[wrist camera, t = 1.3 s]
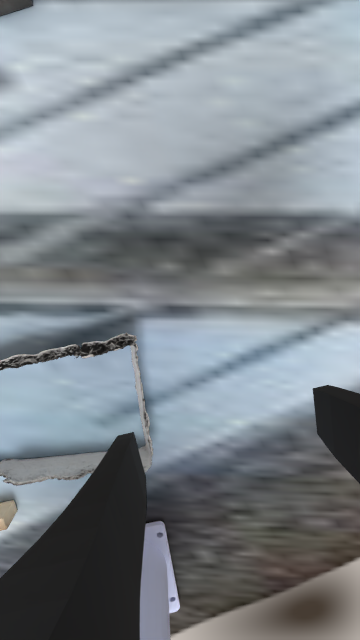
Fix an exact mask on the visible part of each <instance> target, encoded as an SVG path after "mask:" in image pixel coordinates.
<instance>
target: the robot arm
mask: <svg viewBox="0 0 360 640" xmlns="http://www.w3.org/2000/svg"><path fill="white" fill-rule="evenodd" d="M313 395H314V405H315V415H316V425H317V434H318V435H319V437H320V438H321V439H322V441H323V442H324V443H325V445H326V446H327V448H328V449H329V450H330V451H331V453H332V454H333V455H334V457H335V458H336V459H337V460H338V461H339V462H340V463H341V464H342V465H343V466H344V467H345V469H346V470H347V471H348V472H349V473H350V474H351V475H352V476H353V477H354V478H355V479H356V480H357V481H358V482H359V483H360V394H359V393H355V392H352V391H349V390H345V389H342V388H338V387H334V386H329V385H326V386H322V387H318V388H313ZM146 510H147V494H146V475H145V472H144V468H143V465H142V461H141V457H140V454H139V450H138V446H137V443H136V439H135V435H134V432H132V433H128V434H123V435H119V436H117V438H116V439H115V441H114V442H113V444H112V445H111V447H110V448H109V450H108V451H107V453H106V454H105V456H104V457H103V459H102V460H101V462H100V463H99V465H98V466H97V468H96V469H95V470H94V472H93V473H92V475H91V476H90V478H89V479H88V480H87V482H86V483H85V484H84V486H83V487H82V488H81V490H80V491H79V492H78V494H77V495H76V496H75V498H74V499H73V500H72V501H71V503H70V504H69V505H68V507H67V508H66V509H65V510H64V511H63V513H62V514H61V515H60V516H59V517H58V518H57V520H56V521H55V522H54V523H53V524H52V525H51V526H50V528H49V529H48V530H47V531H46V532H45V533H44V534H43V535H42V536H41V538H40V539H39V540H38V541H37V542H36V543H35V544H34V545H33V546H32V547H31V548H30V549H29V550H28V551H27V552H26V553H25V554H24V555H23V556H22V557H21V558H20V559H19V560H18V561H17V562H16V563H15V564H14V565H13V566H12V567H11V568H10V569H9V570H8V571H7V572H6V573H5V574H4V575H3V576H2V577H1V578H0V640H170V620H169V613H172V612H176V611H177V610H179V608H180V603H179V597H178V592H177V587H176V581H175V576H174V571H173V566H172V560H171V555H170V550H169V545H168V539H167V534H166V529H165V524H164V523H163V522H162V521H156V522H151V523H147V524H145V523H146ZM159 532H161V533H159Z"/></svg>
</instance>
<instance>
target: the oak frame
mask: <svg viewBox="0 0 360 640" xmlns="http://www.w3.org/2000/svg"><path fill="white" fill-rule="evenodd" d="M16 512H17V508H16V505H15V502H14V500H11V501H6V502H1V503H0V531H1V530H6V529H7V528H8V526H9V524H10V523H11V521H12V519H13V517H14V516H15V514H16Z"/></svg>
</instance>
